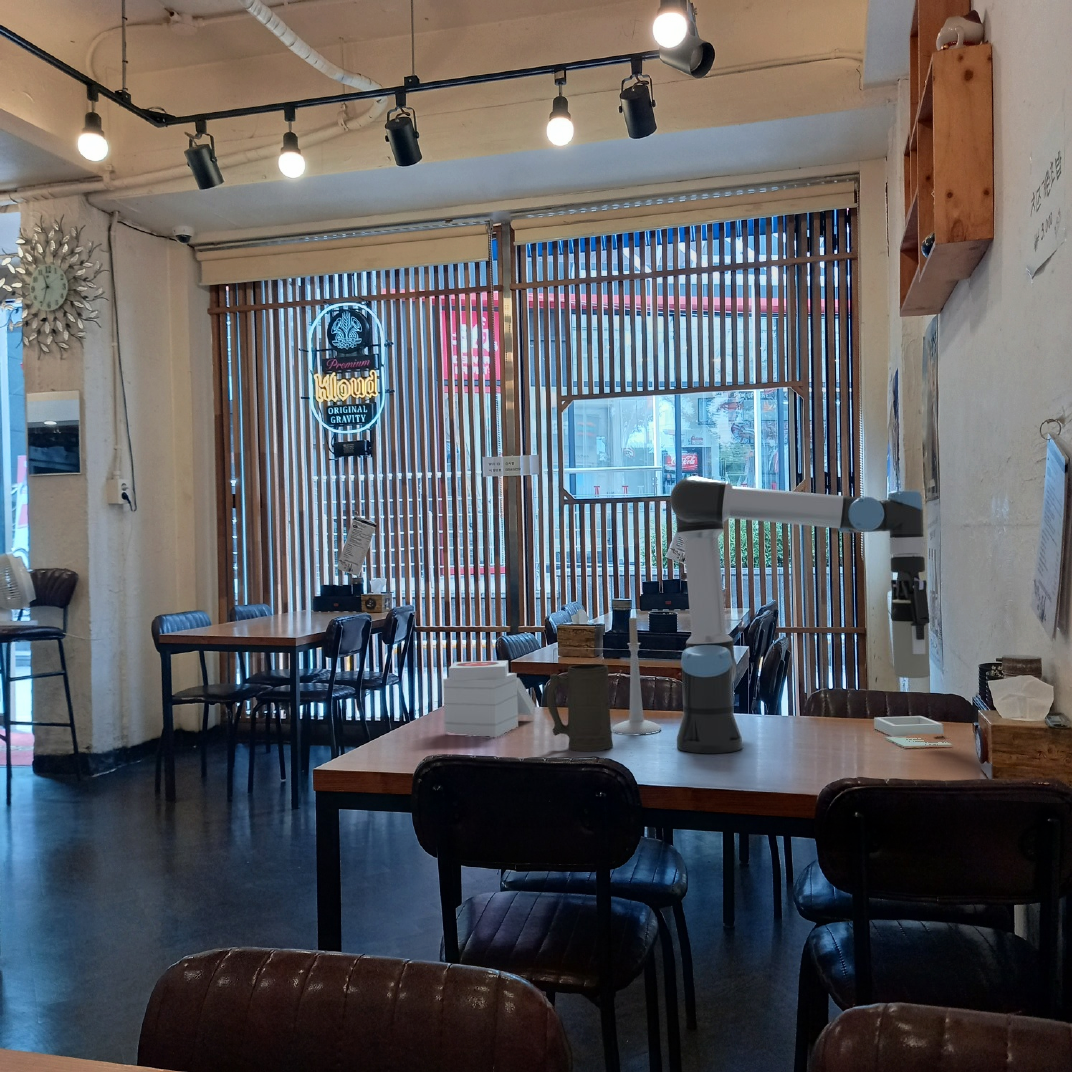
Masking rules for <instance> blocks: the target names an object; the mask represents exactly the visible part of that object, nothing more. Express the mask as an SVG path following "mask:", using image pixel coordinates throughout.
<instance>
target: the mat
mask: <svg viewBox="0 0 1072 1072" xmlns="http://www.w3.org/2000/svg"><path fill="white" fill-rule="evenodd" d="M885 739H888V740H890V741H892V742H894V743H896V744H899V745H900V746H903V747H908V746H935V745H933V744H936V746H937V744H938V745H952V746H953V744H952V743H950V742H947V741H945V742H946V743H945V742H944V743H942V742H938V743H928V742H927V743H925V742H915V741H924V740H913V739H917V738H906V737H890V736H885V737H884V740H885ZM906 739H908V740H906ZM909 739H912V740H909ZM918 739H921V738H918ZM909 741H910V742H909ZM913 741H914V742H913ZM925 744H926V745H925ZM929 744H931V745H929Z"/></svg>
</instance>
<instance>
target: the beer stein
mask: <svg viewBox="0 0 1072 1072" xmlns="http://www.w3.org/2000/svg"><path fill="white" fill-rule="evenodd" d="M609 673H610V672H609V668H608V665H607V664H603V663H584V664H582V663H581V664H574V665H570V666H568V669H567V673H566V676H561V675H559V674H557V673H553V674H550V675H549V686H548V689H547V693H546V703H547V708H548V711H549V714H550V716H551V718H552V720H553V723H554V726H553V728H552V733H553V735H554V736H558V735H561V734H563V735H566V736H567V737H568V741H569V742H568V748H569V749H570V750H573V751H575V752H576V751H578V752H601V751H600V750H602V751H605V750H604V749H607V750H610V749H612V748H613V747H614V744H613V743H614V742H613V737H612V736H613V731H612V725H611V723H612V722H611V711H610V709H611V708H610V696H609V681H608V676H609ZM560 685H563V686H566V688H567V702H568V703H567V704H568V705H567V707H568V708H567V711H568V712H567V715H568V716H567V724H563V721H562V719H561V716H560V714H559V711H558V707H557V700H556V698H557V697H556V696H557V695H556V692H557V689H558V687H559V686H560ZM611 747H612V748H611Z"/></svg>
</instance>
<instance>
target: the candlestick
mask: <svg viewBox="0 0 1072 1072" xmlns="http://www.w3.org/2000/svg"><path fill="white" fill-rule="evenodd" d="M628 620H629V642H628V643H626V644H627V645H628V647H629V648H628V650H629V651H630V671H629V672H630V674H629V676H630V677H629V678H630V679H629V680H630V681H629V715H628V720H624V721H621V722H619V723H617V724H615V725H614V726H613V727H611V731H612V730H613V731H615V732H617V733H622V734H646V733H652V732H656V731H660V730H661V731H662V727H661V726H660V724H658V723H655V722H653V721H650V720H647V719H645V718H644V712H643V701H642V690H641V675H640V666H639V664H640V663H639V657H638V651H640V648H639V647H640V645H641V644H642V643H641V642H639V641H638V618H637V617H629V619H628ZM613 731H612V732H613ZM617 733H616V734H617ZM622 734H621V735H622Z"/></svg>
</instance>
